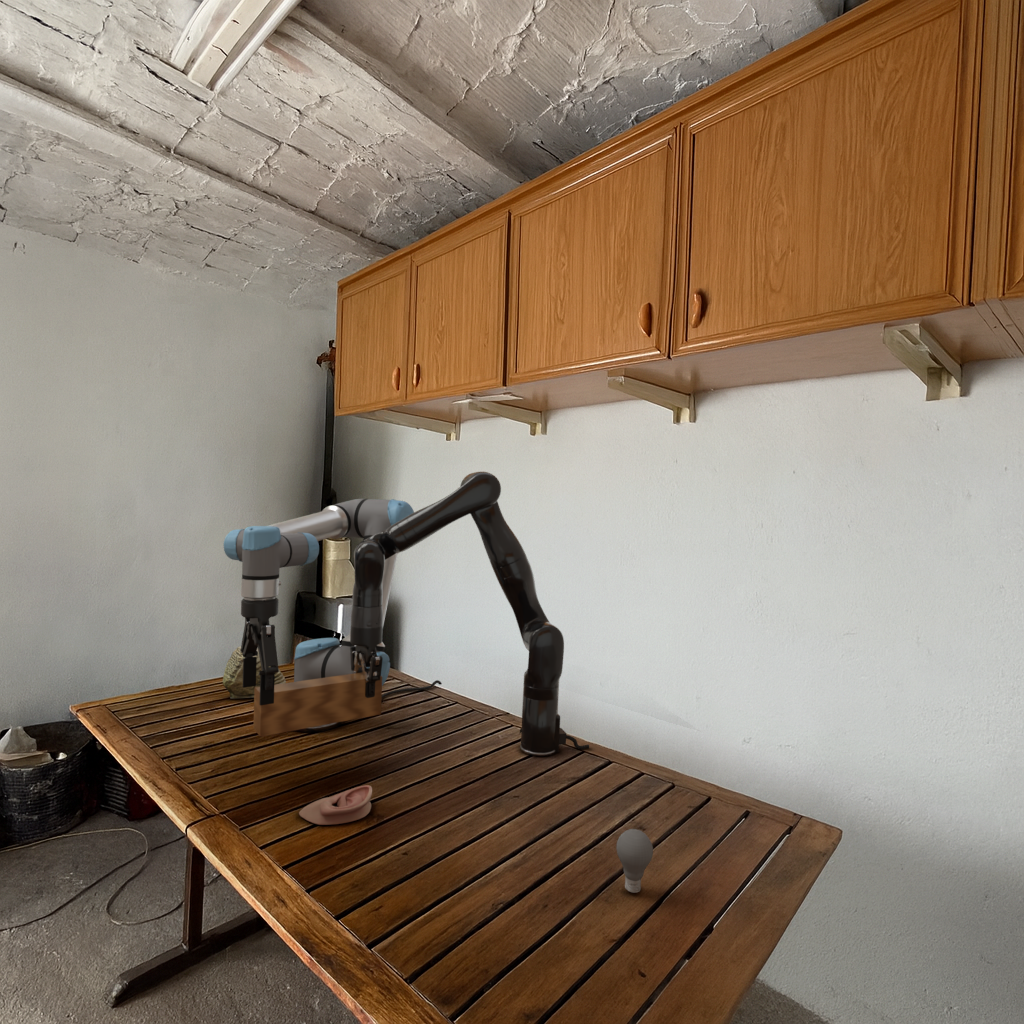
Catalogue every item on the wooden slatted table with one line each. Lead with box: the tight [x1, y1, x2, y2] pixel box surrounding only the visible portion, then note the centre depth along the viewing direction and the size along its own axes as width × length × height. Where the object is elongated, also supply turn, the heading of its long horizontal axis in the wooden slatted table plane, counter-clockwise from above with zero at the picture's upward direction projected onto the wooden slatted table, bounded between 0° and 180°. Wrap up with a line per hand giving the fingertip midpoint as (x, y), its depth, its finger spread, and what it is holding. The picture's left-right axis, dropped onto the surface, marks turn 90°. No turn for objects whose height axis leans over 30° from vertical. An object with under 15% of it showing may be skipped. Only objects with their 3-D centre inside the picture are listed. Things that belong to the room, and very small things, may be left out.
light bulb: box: [615, 828, 654, 894], centre depth 106 cm, size 6×6×10 cm
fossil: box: [222, 646, 287, 699], centre depth 198 cm, size 9×18×15 cm, turn 132°
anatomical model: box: [298, 784, 373, 826], centre depth 127 cm, size 13×4×12 cm
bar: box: [252, 672, 383, 737], centre depth 146 cm, size 28×6×9 cm, turn 126°
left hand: (257, 695), depth 138 cm, fingers open, 13 cm apart
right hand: (364, 693), depth 152 cm, fingers closed on bar, 5 cm apart
